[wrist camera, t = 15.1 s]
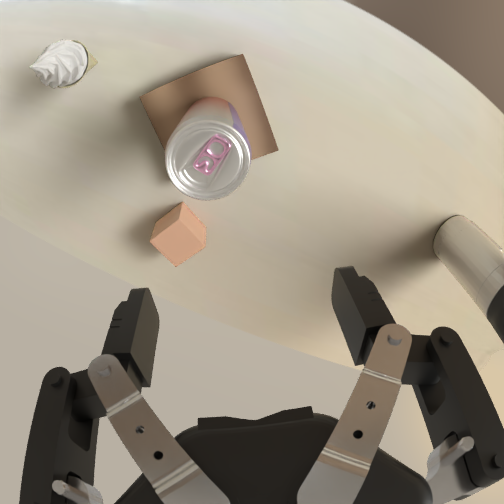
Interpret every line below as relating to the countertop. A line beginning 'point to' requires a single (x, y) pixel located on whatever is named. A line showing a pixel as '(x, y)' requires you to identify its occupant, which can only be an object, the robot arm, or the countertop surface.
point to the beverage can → (208, 151)
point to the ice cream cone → (63, 63)
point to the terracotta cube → (179, 234)
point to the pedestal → (213, 85)
